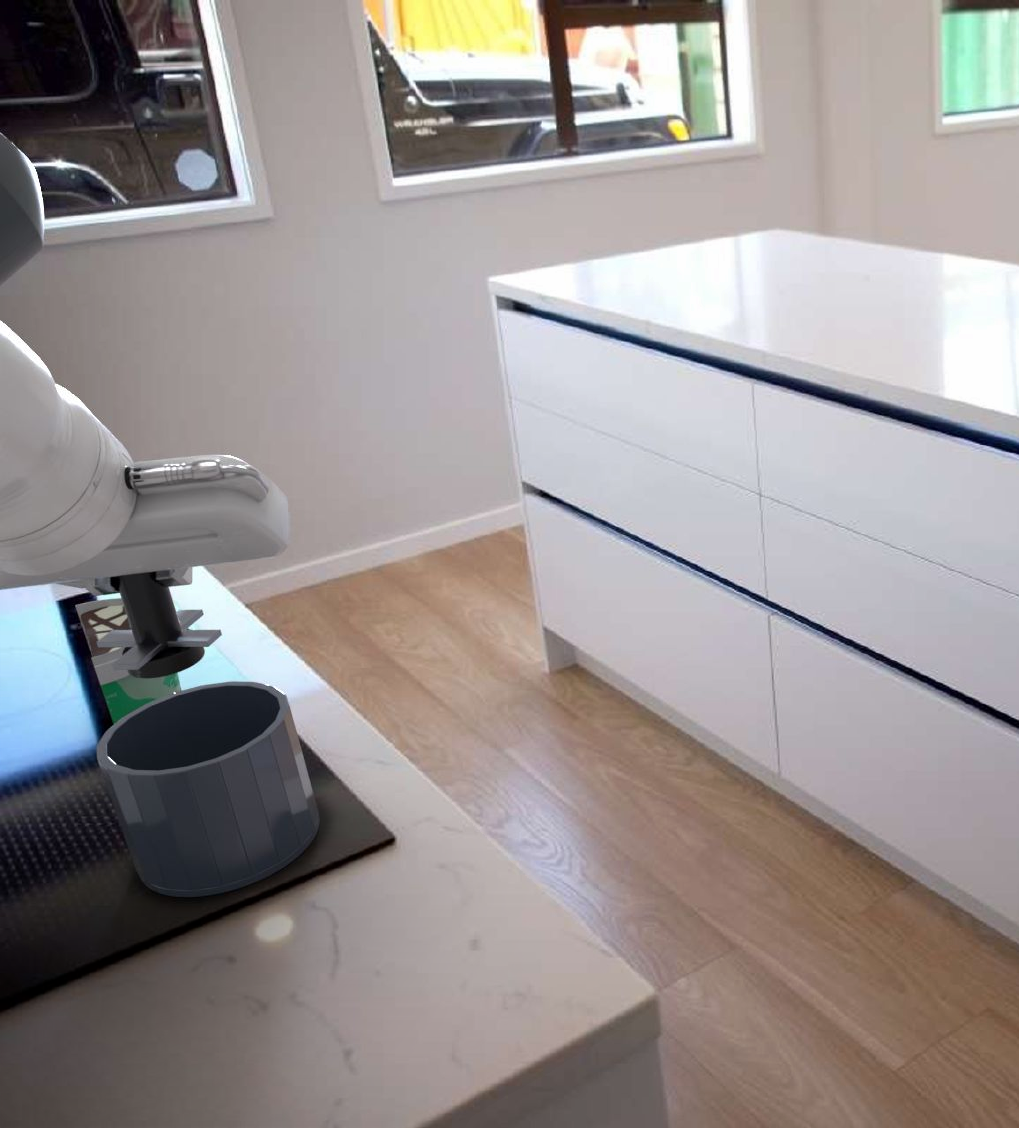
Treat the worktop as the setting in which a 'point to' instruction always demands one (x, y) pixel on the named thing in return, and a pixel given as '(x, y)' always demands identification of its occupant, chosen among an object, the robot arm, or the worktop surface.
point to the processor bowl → (210, 788)
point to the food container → (117, 684)
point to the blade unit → (156, 630)
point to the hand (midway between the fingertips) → (144, 579)
